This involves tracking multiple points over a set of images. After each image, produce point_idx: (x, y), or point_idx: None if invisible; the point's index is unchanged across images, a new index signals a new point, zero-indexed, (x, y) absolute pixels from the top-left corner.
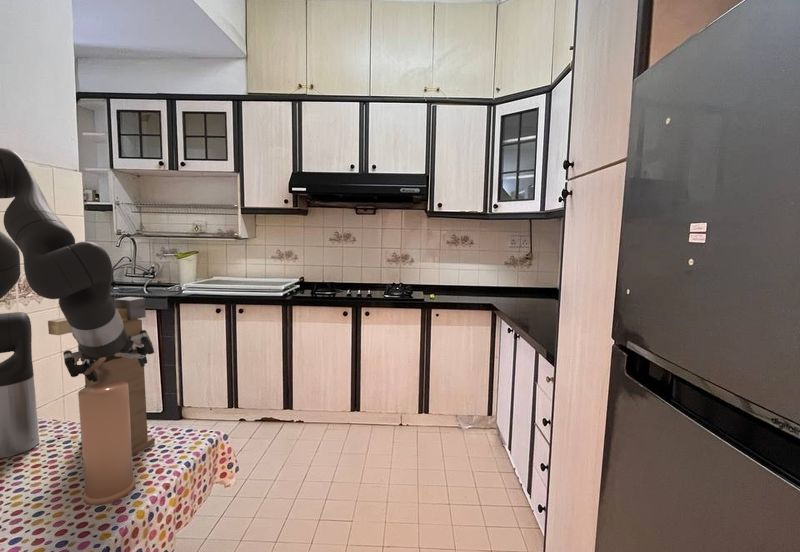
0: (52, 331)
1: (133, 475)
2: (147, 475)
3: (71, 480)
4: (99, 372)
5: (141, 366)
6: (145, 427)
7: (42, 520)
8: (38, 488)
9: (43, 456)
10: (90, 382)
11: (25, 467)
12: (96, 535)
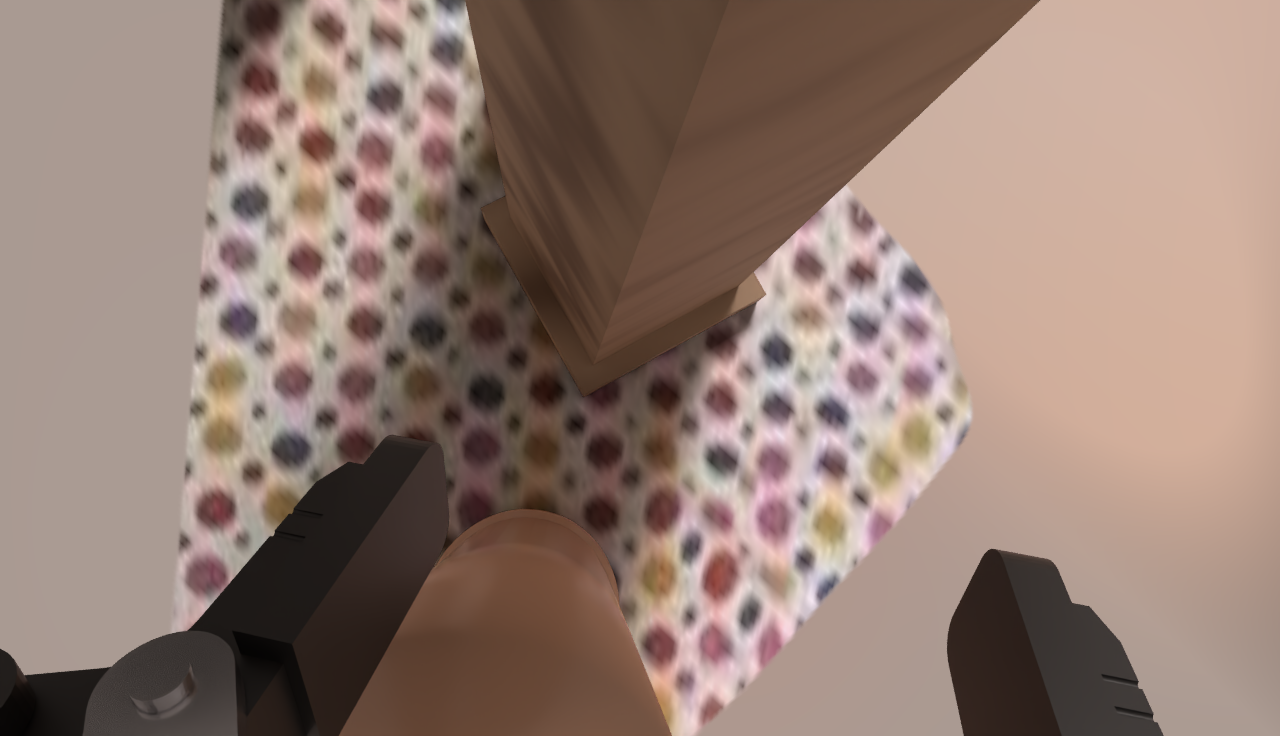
0: None
1: (617, 590)
2: (669, 579)
3: (414, 391)
4: (545, 67)
5: (957, 672)
6: (748, 272)
7: None
8: (300, 365)
9: (350, 73)
10: (486, 23)
11: (279, 128)
12: None
